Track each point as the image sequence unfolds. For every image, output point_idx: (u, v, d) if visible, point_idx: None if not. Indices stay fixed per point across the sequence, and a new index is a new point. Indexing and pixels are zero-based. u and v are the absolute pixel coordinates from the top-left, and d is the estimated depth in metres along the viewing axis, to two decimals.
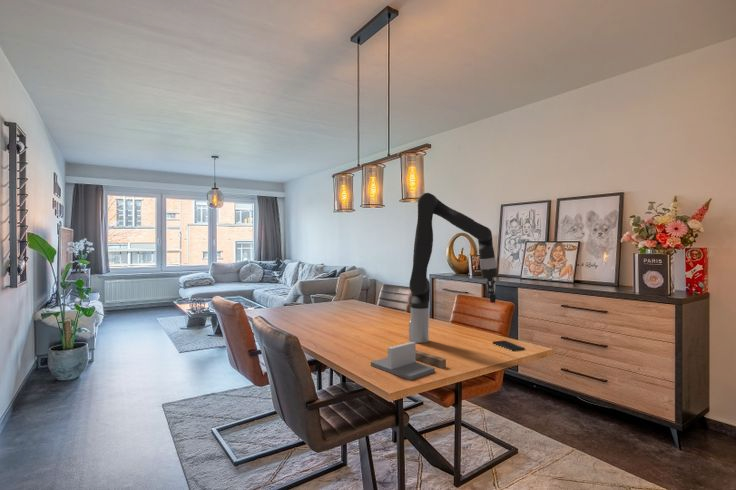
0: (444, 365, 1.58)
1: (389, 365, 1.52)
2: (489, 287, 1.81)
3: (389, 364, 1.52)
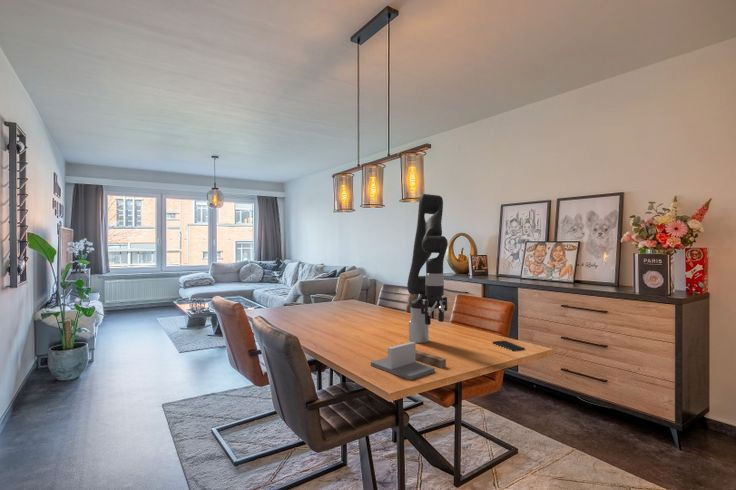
0: (444, 365, 1.58)
1: (389, 365, 1.52)
2: (422, 306, 1.57)
3: (389, 364, 1.52)
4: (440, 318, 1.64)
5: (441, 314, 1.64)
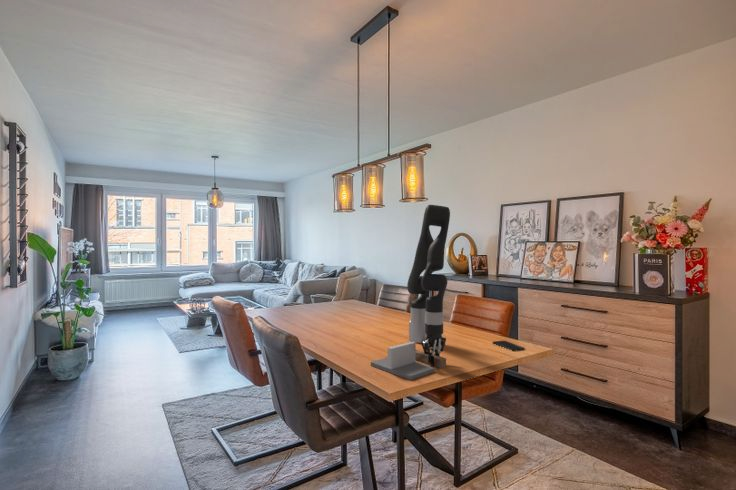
0: (444, 364, 1.58)
1: (389, 365, 1.52)
2: (424, 349, 1.58)
3: (389, 364, 1.52)
4: None
5: (437, 355, 1.62)
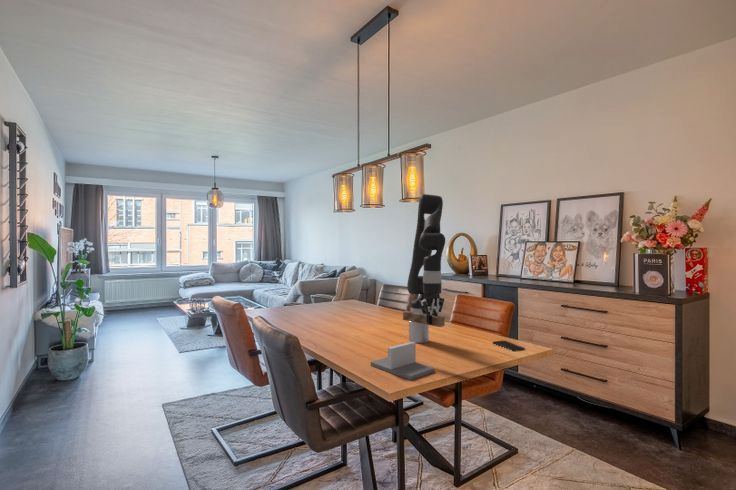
0: (443, 323, 1.57)
1: (389, 365, 1.52)
2: (422, 308, 1.57)
3: (389, 364, 1.52)
4: None
5: (435, 315, 1.61)
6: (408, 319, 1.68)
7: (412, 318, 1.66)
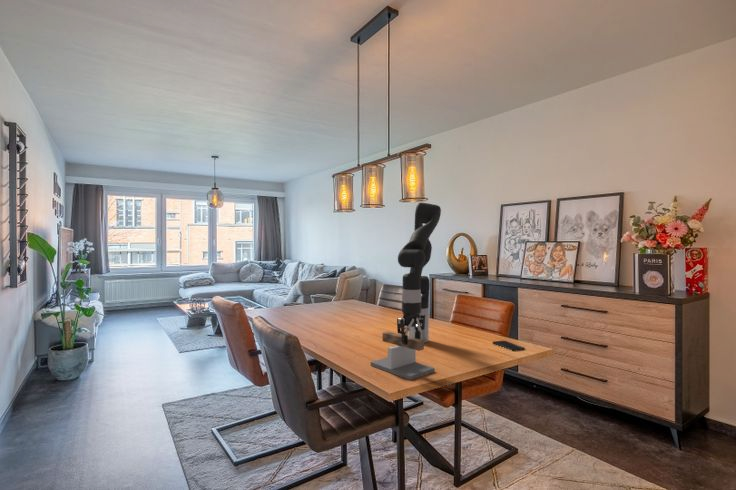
0: (422, 347, 1.49)
1: (389, 365, 1.52)
2: (398, 326, 1.48)
3: (389, 364, 1.52)
4: (416, 337, 1.55)
5: (417, 333, 1.54)
6: (387, 341, 1.60)
7: (391, 340, 1.59)
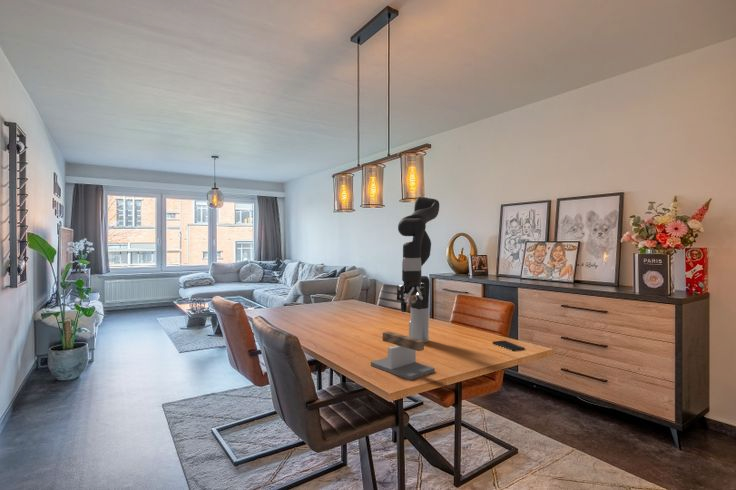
0: (422, 347, 1.49)
1: (389, 365, 1.52)
2: (398, 292, 1.49)
3: (389, 364, 1.52)
4: (418, 305, 1.55)
5: (419, 301, 1.55)
6: (387, 341, 1.60)
7: (391, 340, 1.59)
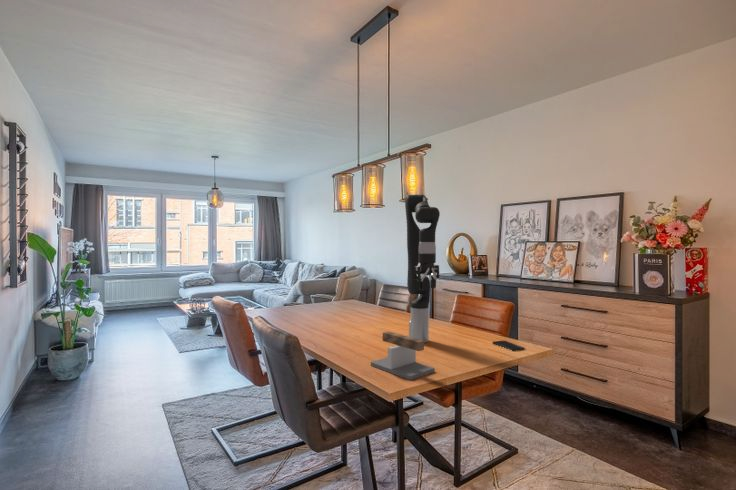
0: (422, 347, 1.49)
1: (389, 365, 1.52)
2: (415, 272, 1.68)
3: (389, 364, 1.52)
4: (432, 285, 1.75)
5: (433, 281, 1.74)
6: (387, 341, 1.60)
7: (391, 340, 1.59)
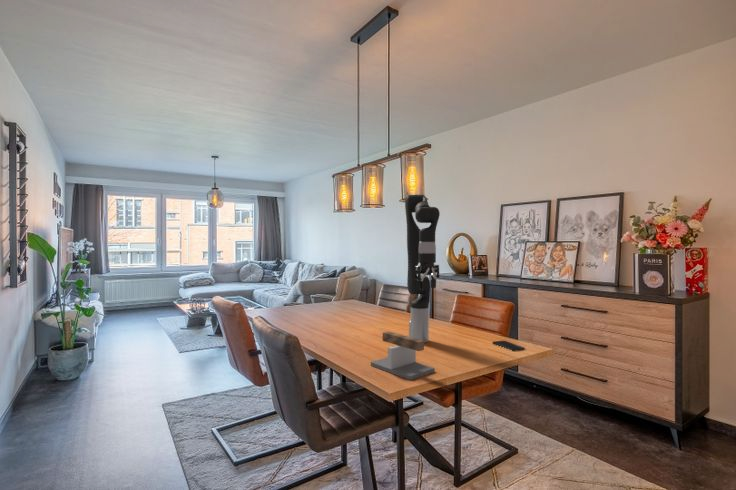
0: (422, 347, 1.49)
1: (389, 365, 1.52)
2: (415, 272, 1.68)
3: (389, 364, 1.52)
4: (432, 285, 1.75)
5: (433, 281, 1.74)
6: (387, 341, 1.60)
7: (391, 340, 1.59)
